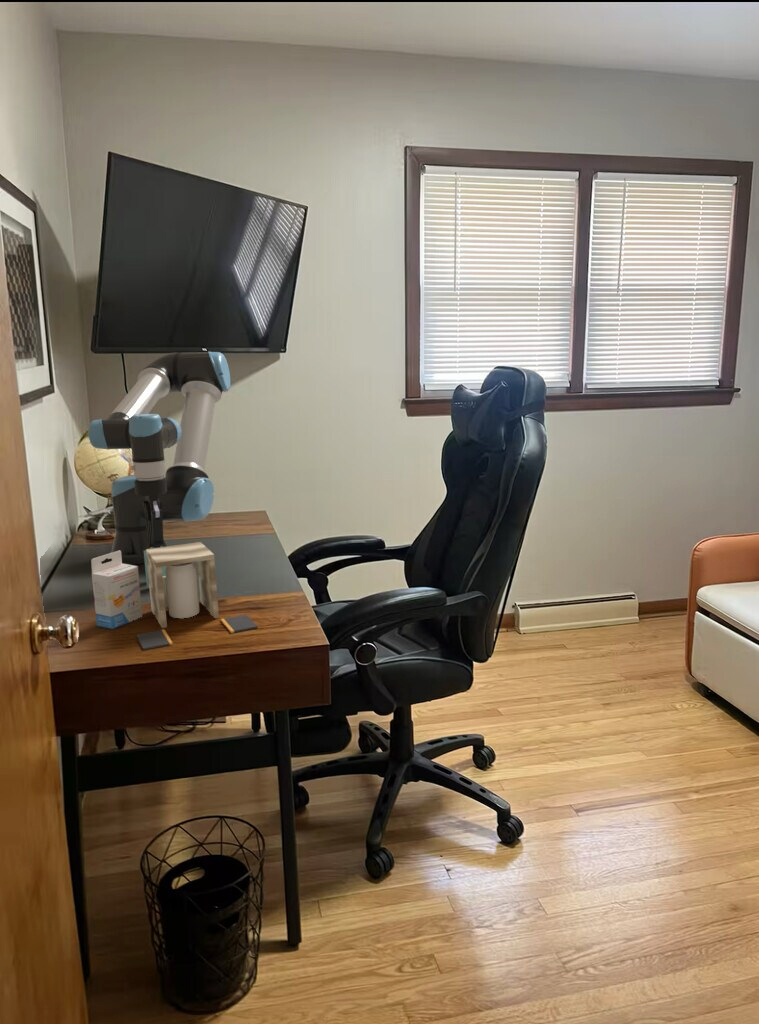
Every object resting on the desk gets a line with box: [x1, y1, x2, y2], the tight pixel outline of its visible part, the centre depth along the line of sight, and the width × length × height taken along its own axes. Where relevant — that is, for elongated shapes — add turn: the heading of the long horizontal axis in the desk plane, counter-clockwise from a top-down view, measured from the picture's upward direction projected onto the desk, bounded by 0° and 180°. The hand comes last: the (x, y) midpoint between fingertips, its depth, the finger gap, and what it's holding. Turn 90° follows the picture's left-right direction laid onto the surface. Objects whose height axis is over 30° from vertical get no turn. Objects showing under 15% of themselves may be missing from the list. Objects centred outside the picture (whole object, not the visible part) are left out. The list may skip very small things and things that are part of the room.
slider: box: [144, 550, 169, 609], centre depth 175 cm, size 19×8×9 cm, turn 27°
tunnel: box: [146, 541, 220, 629], centre depth 162 cm, size 12×12×14 cm
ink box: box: [90, 550, 143, 630], centre depth 159 cm, size 8×5×15 cm, turn 152°
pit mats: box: [135, 614, 259, 651], centre depth 153 cm, size 8×23×1 cm, turn 117°
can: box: [166, 562, 200, 620], centre depth 162 cm, size 6×6×12 cm
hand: (158, 570), depth 188 cm, fingers closed
